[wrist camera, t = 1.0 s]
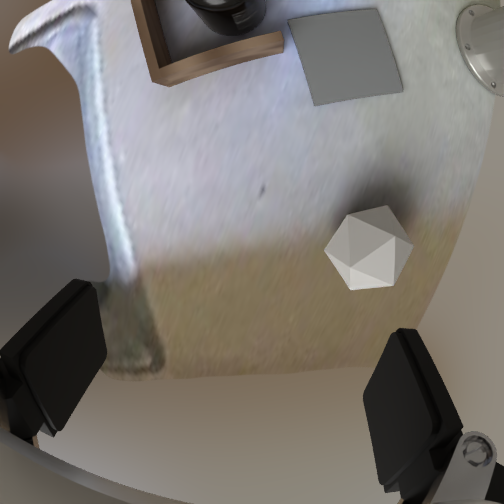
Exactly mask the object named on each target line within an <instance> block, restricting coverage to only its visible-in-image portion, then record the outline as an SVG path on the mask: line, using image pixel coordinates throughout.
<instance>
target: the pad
mask: <svg viewBox="0 0 504 504" xmlns="http://www.w3.org/2000/svg"><path fill="white" fill-rule="evenodd" d="M288 25H289V27H290V30H291V33H292V36H293V39H294V42H295V45H296V48H297V51H298V54H299V57H300V60H301V63H302V66H303V69H304V73H305V76H306V79H307V82H308V86H309V89H310V93H311V96H312V100H313V103H314V106H319V105H324V104H329V103H334V102H339V101H345V100H351V99H357V98H363V97H370V96H377V95H384V94H392V93H400V92H403V88H402V85H401V81H400V77H399V74H398V70H397V67H396V64H395V60H394V57H393V54H392V51H391V48H390V45H389V42H388V39H387V36H386V33H385V30H384V27H383V25H382V22H381V19H380V17H379V14H378V12H377V9H369V10H355V11H345V12H335V13H327V14H320V15H313V16H307V17H301V18H296V19H290V20H288Z"/></svg>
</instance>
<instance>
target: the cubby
mask: <svg viewBox="0 0 504 504" xmlns="http://www.w3.org/2000/svg"><path fill="white" fill-rule="evenodd" d="M131 4H132V8H133V12H134V16H135V20H136V24H137V28H138V32H139V36H140V39H141V43H142V47H143V51H144V54H145V58H146V62H147V65H148V69H149V73H150V76H151V80H152V82H154V83H157V84H161V85H164V86H167V87H171V86H174V85H177V84H179V83H182V82H185V81H187V80H190V79H193V78H196V77H199V76H201V75H204V74H207V73H210V72H214V71H217V70H220V69H223V68H226V67H230V66H233V65H236V64H240V63H243V62H247V61H251V60H255V59H258V58H262V57H266V56H271V55H275V54H279V53H283V47H284V39H283V36H282V33H281V31H277V32H273V33H268V34H264V35H260V36H256V37H252V38H248V39H245V40H241V41H237V42H234V43H230V44H227V45H224V46H221V47H217V48H214V49H211V50H208V51H205V52H202V53H199V54H196V55H194V56H191V57H188V58H185V59H183V60H180V61H177V62H175V63H172V62H171V58H170V55H169V51H168V48H167V44H166V41H165V37H164V34H163V30H162V27H161V23H160V19H159V16H158V12H157V9H156V5H155V1H154V0H131Z"/></svg>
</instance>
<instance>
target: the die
mask: <svg viewBox="0 0 504 504" xmlns="http://www.w3.org/2000/svg"><path fill="white" fill-rule="evenodd" d="M413 247H414V245H413V244H412V242H411V240H410V239H409V237H408V236H407V234H406V232H405V231H404V229H403V228H402V226H401V225H400V223H399V222H398V220H397V218H396V217H395V215H394V214H393V212H392V211H391V209H390V208H389V206H388V205H385V206H381V207H377V208H373V209H368V210H364V211H360V212H356V213H352V214H347V216H346V217H345V219H344V220H343V222H342V224H341V225H340V227H339V228H338V230H337V231H336V233H335V234H334V236H333V237H332V239H331V240H330V242H329V243H328V245H327V246H326V248H325V249H324V251H325V252H326V254H327V255H328V257H329V258H330V260H331V261H332V263H333V264H334V266H335V267H336V269H337V270H338V272H339V273H340V275H341V276H342V278H343V279H344V281H345V282H346V284H347V285H348V287H349V289H350V290H356V289H366V288H376V287H386V286H394V284H395V282H396V280H397V278H398V277H399V275H400V273H401V271H402V269H403V267H404V265H405V263H406V261H407V259H408V257H409V255H410V253H411V251H412V249H413Z"/></svg>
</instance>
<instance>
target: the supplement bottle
mask: <svg viewBox="0 0 504 504" xmlns="http://www.w3.org/2000/svg"><path fill="white" fill-rule="evenodd" d="M186 2H187V3H188V4H189V5H190V7H191V8H192V9H193V10H194V11H195V12H196V14H197V15H198V16H199V17H200V18H201V20H202V21H203V22H204V23H205V24H206V25H207V26H208V27H209V28H210V29H211V30H212V31H214V32H216V33H218V34H221V35H227V36H236V35H241V34H245V33H247V32H249V31H251V30H253V29H254V28H256V27H257V26H258V25H259V24H260V23H261V21H262V20H263V18H264V16H265V12H266V2H265V0H186Z"/></svg>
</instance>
